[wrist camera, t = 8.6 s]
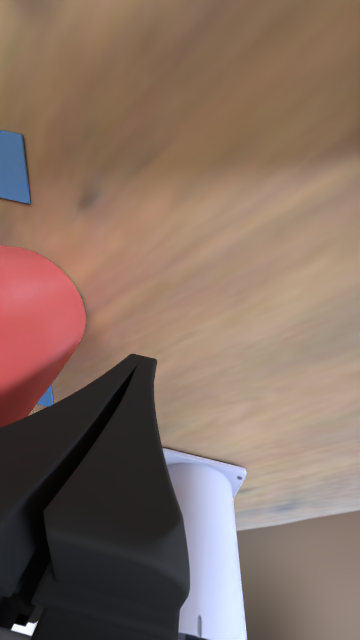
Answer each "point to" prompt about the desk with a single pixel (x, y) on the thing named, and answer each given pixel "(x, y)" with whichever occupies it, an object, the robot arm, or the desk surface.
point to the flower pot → (34, 328)
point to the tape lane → (16, 189)
